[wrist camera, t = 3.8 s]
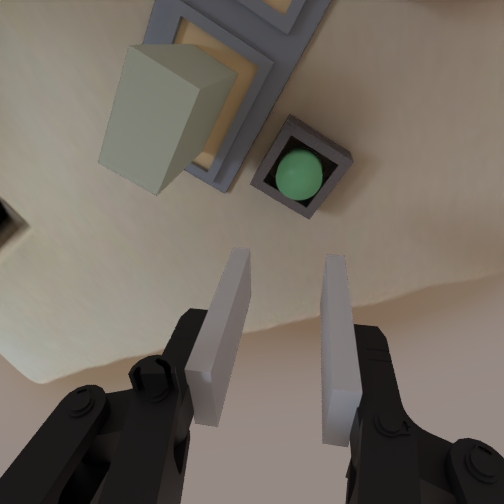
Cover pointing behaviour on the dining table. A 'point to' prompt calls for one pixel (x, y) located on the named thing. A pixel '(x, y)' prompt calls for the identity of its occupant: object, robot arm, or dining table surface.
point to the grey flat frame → (238, 64)
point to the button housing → (316, 142)
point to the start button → (299, 173)
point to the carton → (163, 112)
